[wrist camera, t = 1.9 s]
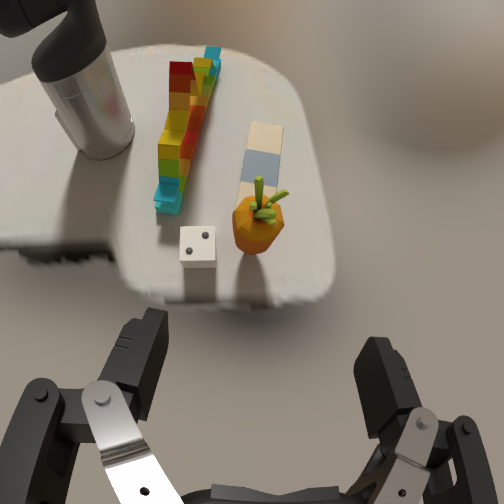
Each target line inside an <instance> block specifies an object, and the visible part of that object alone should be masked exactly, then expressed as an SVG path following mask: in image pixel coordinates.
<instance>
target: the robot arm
mask: <svg viewBox="0 0 504 504" xmlns="http://www.w3.org/2000/svg"><path fill="white" fill-rule="evenodd" d="M65 11H68V13H67V15H66V16H65V18H64V19H63V21H62V22H61V23H60V24H59V25H58V26H57V27H56V28H55V29H54V30H53V31H52V32H51V33H50V34H49V35H48V36H47V37H46V38H45V39H44V40H43V41H42V42H41V44H40V45H39V46H38V47H37V49H36V50H35V52H34V54H33V57H32V61H31V63H32V68H33V70H34V72H35V74H36V76H37V78H38V79H39V81H40V83H41V84H42V86H43V88H44V90H45V91H46V93H47V95H48V96H49V98H50V100H51V101H52V103H53V105H54V106H55V108H56V112H55V117H56V118H57V120H58V121H59V123H60V124H61V126H62V127H63V129H64V131H65V132H66V134H67V135H68V137H69V138H70V140H71V141H72V143H73V144H74V145H75V147H76V148H77V150H78V151H83V152H84V153H85V155H86V156H88V157H89V158H91V159H94V160H103V159H107V158H111V157H113V156H115V155H117V154H118V153H120V152H121V151H122V150H124V149H125V148H126V147H127V146H128V144H129V143H130V142H131V140H132V138H133V135H134V132H135V126H134V122H133V119H132V117H131V114H130V111H129V108H128V105H127V102H126V99H125V97H124V94H123V91H122V88H121V85H120V82H119V79H118V76H117V73H116V70H115V66H114V63H113V60H112V57H111V54H110V51H109V48H108V44H107V41H106V37H105V34H104V31H103V28H102V25H101V22H100V18H99V15H98V11H97V7H96V3H95V0H0V34H2V35H4V36H6V37H9V38H14V37H17V36H20V35H22V34H24V33H26V32H28V31H30V30H32V29H33V28H35V27H37V26H39V25H40V24H42V23H44V22H46V21H48V20H50V19H52V18H54V17H55V16H57V15H59V14H61V13H62V12H65ZM168 343H169V332H168V313H167V311H165V310H160V309H155V308H150V307H148V309H147V310H146V312H145V314H144V316H143V318H142V320H141V319H136V318H133V319H131V320H130V321H129V322H128V323H127V324H125V325H124V326H123V328H122V330H121V332H120V335H119V338H118V339H117V341H116V343H115V346H114V347H113V349H112V351H111V353H110V356H109V357H108V359H107V362H106V364H105V366H104V368H103V370H102V372H101V375H100V377H99V378H98V380H97V381H95V382H92V383H90V384H89V385H87V386H86V388H83V389H60V388H58V387H57V385H56V384H55V383H54V382H53V381H51V380H50V379H47V378H37V379H34V380H33V381H31V382H30V383H29V384H28V385H27V386H26V388H25V390H24V392H23V394H22V396H21V398H20V400H19V403H18V405H17V407H16V409H15V412H14V414H13V416H12V419H11V421H10V423H9V426H8V428H7V431H6V433H5V436H4V438H3V441H2V444H1V446H0V504H65V501H66V497H67V492H68V488H69V484H70V479H71V475H72V471H73V467H74V464H75V460H76V456H77V453H78V449H79V446H80V443H97V446H98V448H99V451H100V453H101V460H102V463H103V465H104V468H105V470H106V472H107V475H108V477H109V479H110V481H111V483H112V485H113V487H114V489H115V491H116V493H117V495H118V497H119V499H120V501H121V503H122V504H418V503H419V501H420V499H421V496H422V495H423V502H424V504H498V500H497V495H496V491H495V486H494V482H493V478H492V474H491V471H490V467H489V463H488V460H487V456H486V453H485V449H484V446H483V443H482V440H481V437H480V434H479V431H478V428H477V425H476V423H475V422H474V421H473V419H471V418H470V417H468V416H459V417H458V418H457V419H456V420H455V421H453V422H447V421H441V420H438V419H437V417H436V415H435V414H434V413H433V412H432V411H431V410H429V409H427V408H424V407H422V405H421V402H420V399H419V396H418V394H417V391H416V389H415V386H414V383H413V381H412V379H411V376H410V373H409V371H408V370H407V369H408V368H407V365H406V363H405V361H404V359H403V357H402V356H401V355H400V354H399V353H398V351H396V350H393V348H392V345H391V343H390V341H389V339H388V338H386V337H369V338H368V340H367V341H366V343H365V345H364V347H363V349H362V350H361V352H360V354H359V356H358V357H357V359H356V361H355V364H354V377H355V381H356V384H357V388H358V393H359V397H360V401H361V405H362V409H363V414H364V419H365V423H366V428H367V432H368V437H369V439H374V438H379V441H380V443H379V444H378V445H377V446H376V448H375V450H374V452H373V454H372V456H371V457H370V459H369V461H368V463H367V465H366V466H365V468H364V470H363V472H362V473H361V475H360V476H359V478H358V479H357V481H356V482H355V483H354V484H353V485H352V486H351V487H350V488H349V489H348V491H347V492H346V493H345V494H344V493H340V492H339V487H338V486H333V487H319V488H308V489H304V490H300V491H297V492H293V493H289V494H284V495H272V494H268V493H264V492H260V491H257V490H253V489H249V488H246V487H237V486H225V485H217V484H212V486H211V489H206V490H200V491H195V492H192V493H188V494H186V495H184V496H181V497H180V498H179V496H178V495H177V493H176V492H175V490H174V489H173V487H172V485H171V484H170V482H169V481H168V479H167V477H166V476H165V474H164V472H163V471H162V469H161V467H160V466H159V464H158V462H157V461H156V459H155V457H154V455H153V453H152V451H151V450H150V448H149V446H148V445H147V443H146V442H145V441H144V439H143V437H142V435H141V433H140V431H139V429H138V427H137V422H138V419H140V420H143V421H147V418H148V414H149V411H150V407H151V403H152V400H153V397H154V393H155V390H156V386H157V383H158V380H159V376H160V373H161V370H162V367H163V363H164V360H165V356H166V354H167V349H168ZM452 458H453V462H454V466H455V470H456V475H457V481H456V484H455V485H454V486H453V481H452V476H451V472H450V468H449V464H448V461H449V460H450V459H452Z"/></svg>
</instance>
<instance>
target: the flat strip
mask: <svg viewBox="0 0 504 504" xmlns="http://www.w3.org/2000/svg"><path fill="white" fill-rule="evenodd" d="M282 135H283V126H277V125H272V124H266V123H261V122H254V121H251V125H250V130H249V136H248V141H247V146H246V152H245V157H244V163H243V168H242V174H241V180H240V185H239V191H238V197H237V202H236V208H237V207H238V206H239V204H240V203H241V202H242V201H243V199H244V198H245V197H249V196H255V186H254V179H255V178H256V177H257V176H262V177H263V180H264V189H263V195H266V196H267V197H269V198H271V197H272V196H273V195H275V194H276V188H277V180H278V171H279V162H280V153H281V144H282ZM236 208H235V209H236Z"/></svg>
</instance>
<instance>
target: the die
mask: <svg viewBox="0 0 504 504" xmlns="http://www.w3.org/2000/svg"><path fill="white" fill-rule="evenodd" d="M179 261H180V263H181V264H182V266H183V268H216V234H215V226H184V227H180V257H179Z"/></svg>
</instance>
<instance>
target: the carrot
mask: <svg viewBox="0 0 504 504" xmlns="http://www.w3.org/2000/svg"><path fill="white" fill-rule="evenodd" d="M254 186H255V196H249V197H245V198H244V199H243V201H242V202H241V203H240V204H239V206H238V207H237V208H236V209H235V210H234V212H233V219H232V222H233V232H234V238H235V243H236V246H237V247H238V248H239V249H240V250H242V251H243V252H244V253H246V254H247V255H253V254H259V253H263V252H265V251H266V250H267V249H268V248H269V247H270V245H271V244H272V242H273V241H274V240H275V238H276V237H277V235H278V234H279V233H280V231H281V230H282V228H283V227H284V221H283V217H282V212H281V208H280V205H279V204H277V203H276V201H278V200H279V199H281V198H283V197H285V196H287V195H288V194H289V192H288V191H287V190H284V189H283V190H281V191H279V192H277V193H276V194H275V195H273V196H272V197H271V198H269V197H267V196H266V195H263V189H264V180H263V177H262V176H257V177H256V178H255V179H254Z"/></svg>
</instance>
